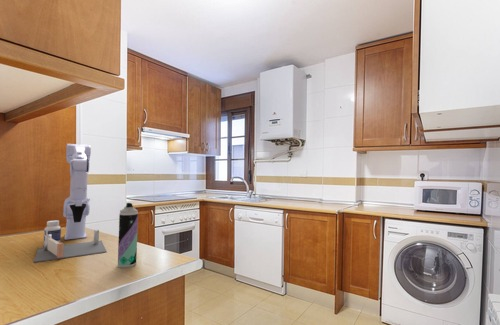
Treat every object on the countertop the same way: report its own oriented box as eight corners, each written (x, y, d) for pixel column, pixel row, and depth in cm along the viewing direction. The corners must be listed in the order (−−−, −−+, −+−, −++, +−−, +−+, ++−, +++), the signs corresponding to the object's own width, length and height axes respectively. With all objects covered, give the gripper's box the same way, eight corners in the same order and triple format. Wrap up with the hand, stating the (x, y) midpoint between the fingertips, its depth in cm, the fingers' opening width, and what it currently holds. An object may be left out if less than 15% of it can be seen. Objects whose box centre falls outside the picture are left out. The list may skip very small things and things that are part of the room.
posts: (44, 250, 97) (45, 234, 97) (98, 244, 107) (98, 229, 107) (44, 252, 96) (44, 235, 96) (98, 245, 106) (99, 230, 106)
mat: (38, 248, 99) (38, 247, 99) (101, 241, 111) (101, 240, 111) (33, 262, 85) (33, 261, 85) (106, 252, 97) (106, 251, 97)
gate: (46, 250, 96) (47, 237, 96) (51, 249, 97) (51, 236, 97) (57, 257, 87) (58, 244, 88) (62, 256, 89) (63, 243, 89)
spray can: (113, 267, 82) (116, 203, 83) (124, 261, 87) (126, 201, 88) (129, 268, 81) (132, 204, 82) (139, 262, 86) (141, 202, 87)
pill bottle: (63, 244, 106) (64, 220, 107) (52, 247, 101) (53, 222, 102) (51, 243, 107) (52, 219, 107) (39, 247, 102) (41, 222, 102)
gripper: (91, 189, 102) (90, 224, 101) (89, 187, 114) (87, 218, 113) (69, 189, 98) (68, 226, 97) (69, 187, 110) (68, 219, 109)
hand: (77, 222), depth 105 cm, fingers closed
